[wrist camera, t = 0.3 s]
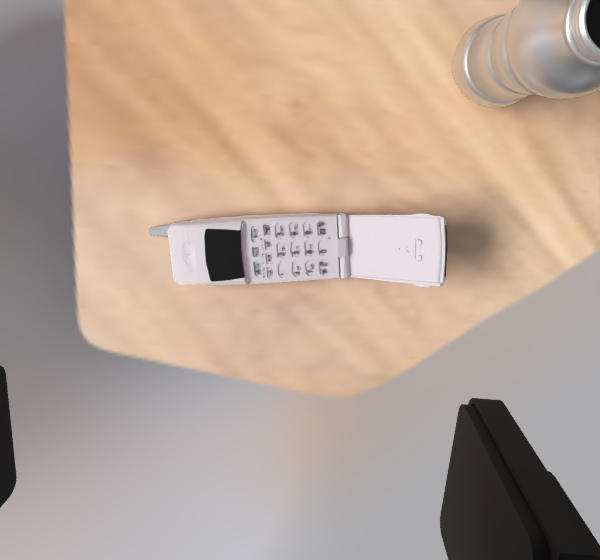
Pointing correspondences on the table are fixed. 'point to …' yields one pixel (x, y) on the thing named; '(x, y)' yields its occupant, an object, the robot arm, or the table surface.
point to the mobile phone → (307, 248)
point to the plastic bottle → (531, 53)
